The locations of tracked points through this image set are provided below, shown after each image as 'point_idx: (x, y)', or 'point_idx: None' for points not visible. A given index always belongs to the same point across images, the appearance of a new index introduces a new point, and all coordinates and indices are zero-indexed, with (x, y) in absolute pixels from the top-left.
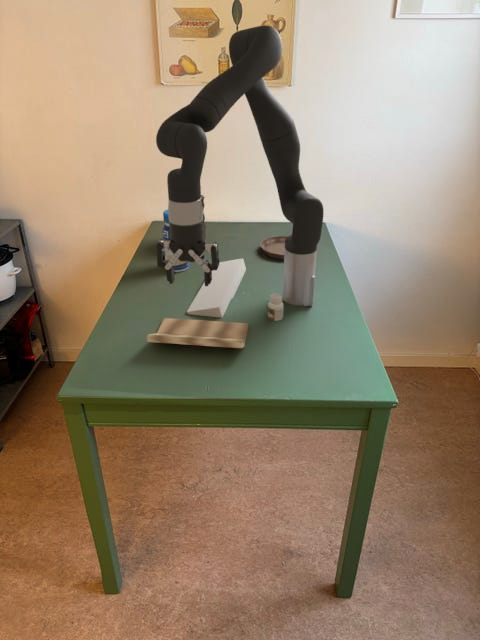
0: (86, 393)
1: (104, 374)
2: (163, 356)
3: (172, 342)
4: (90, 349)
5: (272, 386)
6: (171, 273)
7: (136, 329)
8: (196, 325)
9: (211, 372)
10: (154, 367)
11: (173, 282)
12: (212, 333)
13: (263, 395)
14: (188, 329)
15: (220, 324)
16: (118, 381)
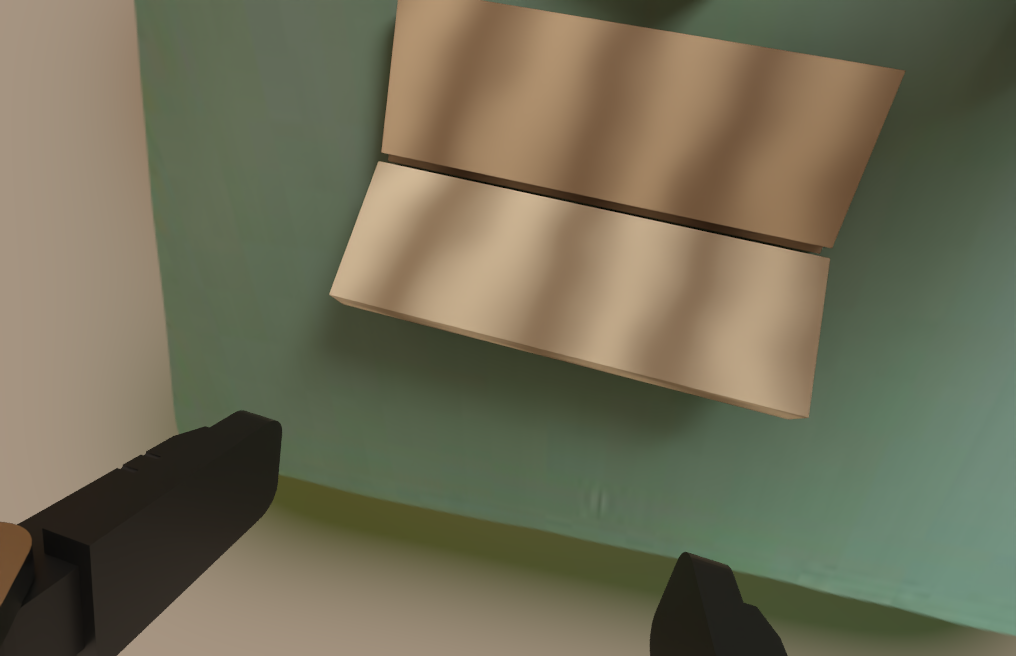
0: None
1: (255, 375)
2: None
3: (453, 332)
4: (162, 216)
5: (850, 540)
6: (150, 622)
7: (291, 60)
8: (576, 85)
9: (622, 423)
10: (409, 361)
11: (278, 460)
12: (657, 177)
13: (797, 575)
14: (532, 126)
15: (717, 79)
16: (307, 418)
